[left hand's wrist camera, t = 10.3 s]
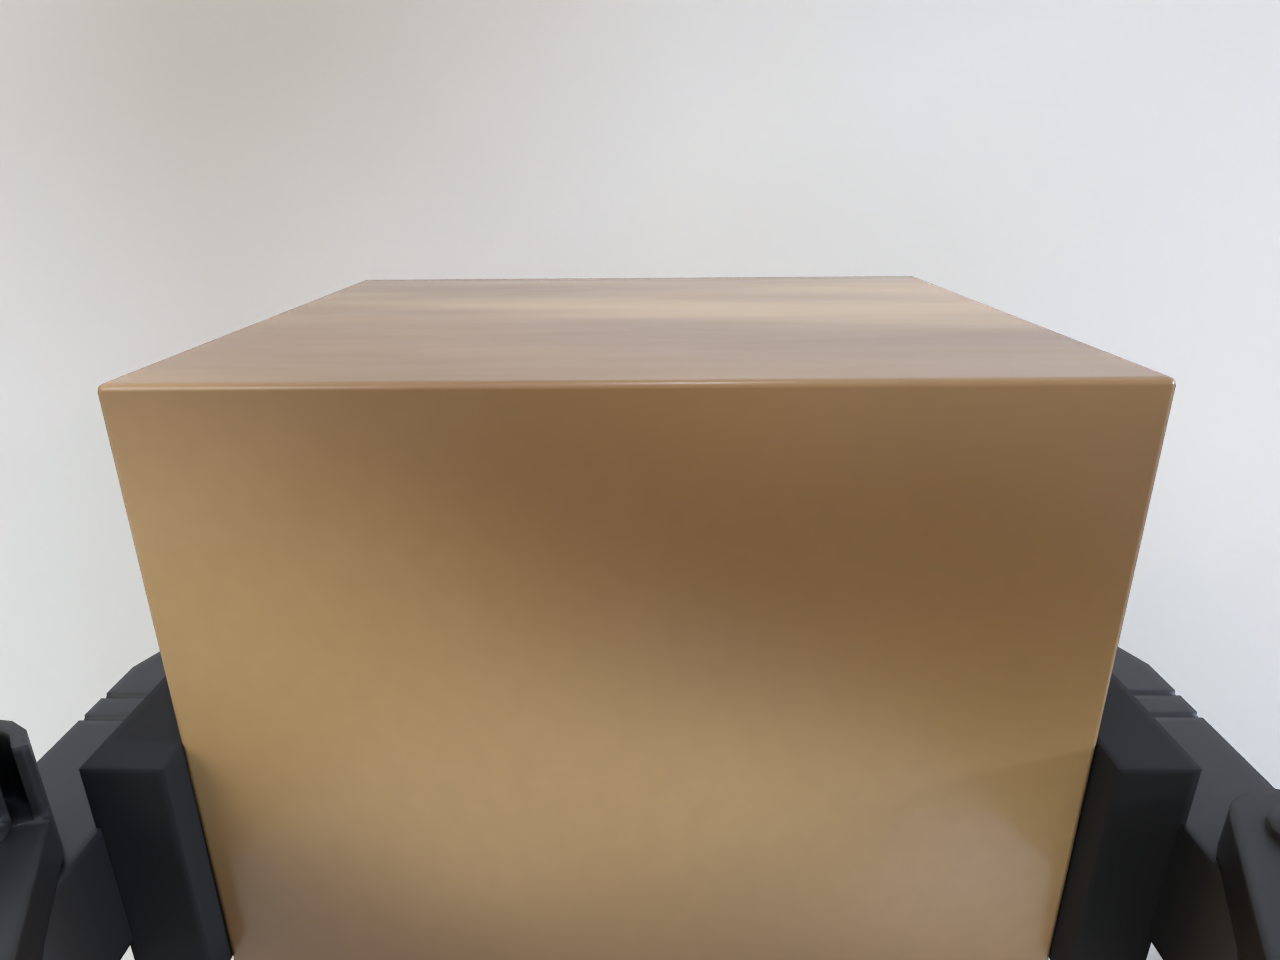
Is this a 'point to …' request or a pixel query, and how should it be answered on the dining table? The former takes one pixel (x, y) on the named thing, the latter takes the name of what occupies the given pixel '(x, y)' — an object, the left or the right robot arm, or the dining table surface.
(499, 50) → the dining table surface
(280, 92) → the dining table surface
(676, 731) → the brown striped wooden beam
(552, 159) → the dining table surface
